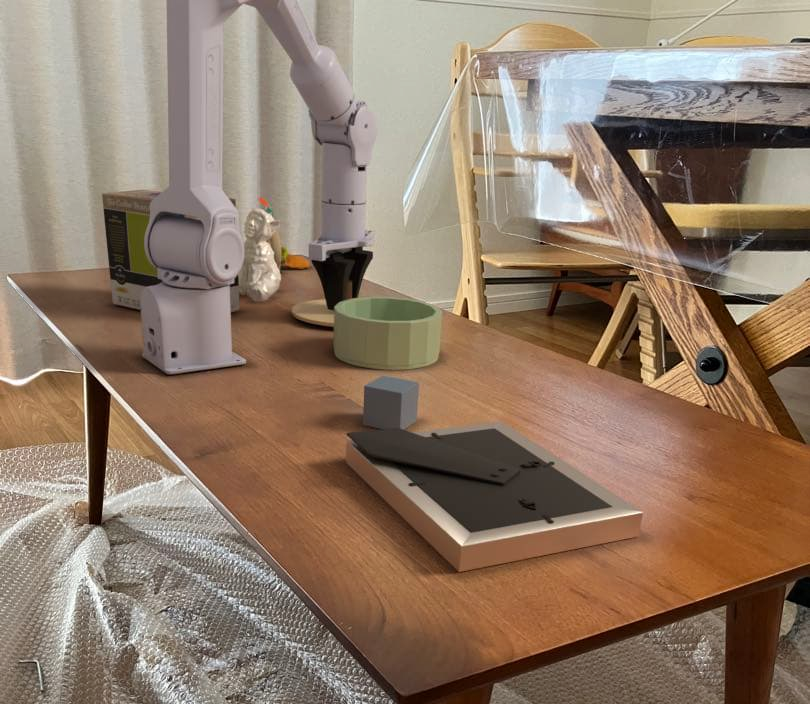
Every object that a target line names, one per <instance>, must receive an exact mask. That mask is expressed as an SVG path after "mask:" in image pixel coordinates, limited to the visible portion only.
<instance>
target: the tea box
mask: <svg viewBox="0 0 810 704" xmlns="http://www.w3.org/2000/svg"><path fill="white" fill-rule="evenodd" d="M164 190H165V189H161V188H147V189H135V190H123V191H112V192H103V193H102V194H101V197H102V198H101V199H102V208H103V219H104V228H105V229H104V230H105V238H106V239H105V241H106V248H107V259H108V268H109V270H108V271H109V277H110V290H111V299H112V304H113V305H117V306H120V307H124V308H125V307H126V308H128V309H129V308H130V309H134V310H139V311H141V309H140V299H141V292H142V290H143V289H144V288H145V287H148V286H154V285H157V284H160V283H161V282H163V281H162V280H161V279H158V273H157V269H156V268H154V267H153V266H152V265H151V264H150V262H149V260H148V258H147V256H146V253H145V248H144V238H145V232H146V229H147V226H148V223H149V219H150V203H151V201H152V200H153V199H154V198H156V197H157V196H158V195H159V194H161V193H162V192H163V191H164ZM228 198H229V200H230V201H231V202H232V204H233V205H234V206H235V208H236V209H237V205H236V204H237V203H236V202H237V201H236V198H231V197H228ZM186 217H188V218H193V219H199V218H196V217H194V216H188V215H186ZM199 220H200V219H199ZM229 285H230V311H231V313H233V312H237V311H239V309H240V295H239V276H238V275H237V276H236V277H235V278H234V283H233V284H229Z"/></svg>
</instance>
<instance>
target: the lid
mask: <svg viewBox="0 0 810 704" xmlns="http://www.w3.org/2000/svg"><path fill="white" fill-rule="evenodd" d="M348 299H352V281H351V280H348V284H347V290H346V299H345V300H348ZM291 315H292V316H293V317H294V318H295V319H297V320H299V321H302V322H305V323H309V324H312V325H316V326H317V325H319V326H322V327H328V328H329V327H330V328H334V310H328V308H327V304H326V300H325V298H322V299H314V300H308V301H304V302H299V303H297V304H295V305H294V306H292V308H291Z"/></svg>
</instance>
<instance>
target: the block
mask: <svg viewBox="0 0 810 704" xmlns="http://www.w3.org/2000/svg"><path fill="white" fill-rule="evenodd" d="M419 389H420V382H419V381H415V380H414V381H413V380H409V379H403V378H399V377H392V376H387V375H381V376H379V377H377V378H376V379H374V380H372V381H370V382H368V383H367V384H365V385H364V386H363V408H362V409H363V410H362V411H363V412H362V413H363V414H362V425H363V426H364V427H369V428H374V429H377V430H383V429H395V428H400V429H403V430H407V429H408V428H409V427H411V426H412V425H413V424H414V423H416V422H417V421H418V409H419V408H418V406H419V392H420V391H419Z"/></svg>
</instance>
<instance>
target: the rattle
mask: <svg viewBox="0 0 810 704" xmlns="http://www.w3.org/2000/svg"><path fill="white" fill-rule="evenodd" d="M258 201H259V203H260V204H261V205H262V206H264V207H265V208H264V211H265V212H267V213H269V214H271V215H272V217H273V219H274V220H275V221H276V219H275V217H274V210H273V208H272V207H271V205H269V203H268V202H267V200H266V199H265V198H264V197H263V196H259V197H258ZM266 242H267V243H269V245H270V246H271V248H272V251H273V252H274V260H275V262H276V263H277V268H278V269H279V271H281V266H285V267H289V268H290V269H297V270H305V269H309V267H310V263H309V261H308V260H306V258H305V257H303V256H301V255H293V254H291V253H289V251H288V248H287V247H286V246H282V244H281V237H280V234H279V232H278V229H277V230H276V232H274V233H273V236H271V238H270V239H268V240H267V241H266Z"/></svg>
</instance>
